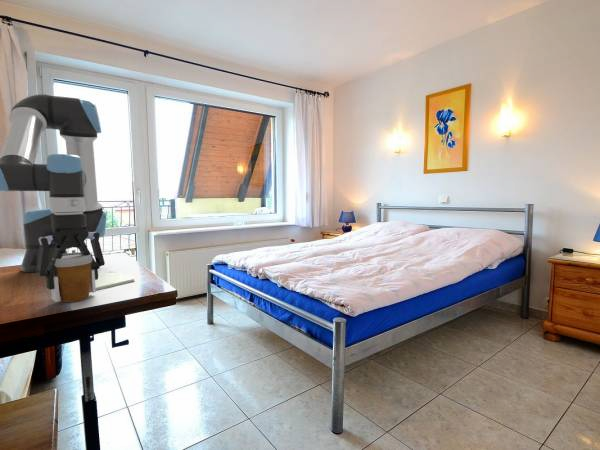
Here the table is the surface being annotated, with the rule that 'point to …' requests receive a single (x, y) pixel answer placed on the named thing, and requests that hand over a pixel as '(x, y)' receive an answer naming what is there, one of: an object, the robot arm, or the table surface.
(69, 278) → the disposable coffee cup
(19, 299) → the table surface
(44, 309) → the table surface
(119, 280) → the sage board
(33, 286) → the table surface
